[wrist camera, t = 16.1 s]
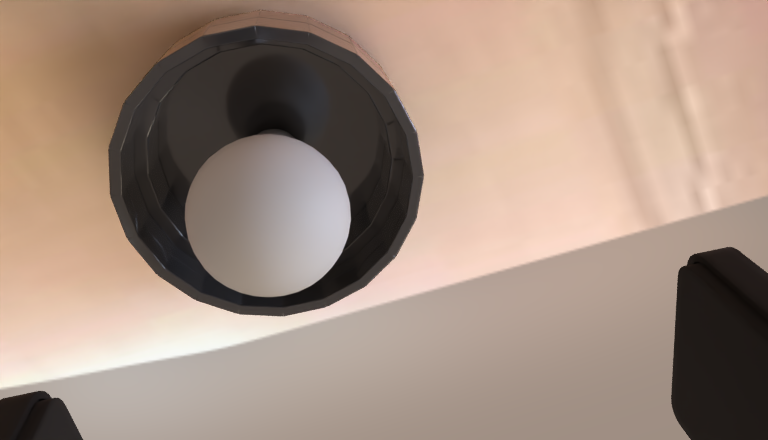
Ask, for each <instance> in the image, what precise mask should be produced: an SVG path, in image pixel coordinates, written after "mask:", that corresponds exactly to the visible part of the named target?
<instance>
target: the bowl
mask: <svg viewBox="0 0 768 440" xmlns="http://www.w3.org/2000/svg"><path fill="white" fill-rule="evenodd" d="M268 129H280V130H283V131H286V132H288V133H289V134H291V135H292V136H293V137H294V138H295V139H297V140H300V141H302V142H304V143H306V144H307V145H309V146H311V147H313V148H314V149H316V150H317V151H318V152H319V153H320V154H322V155H323V156H324V157H325V158H326V159H327V160H328V161H329V162H330V163H331V164H332V165H333V167H334V168H335V169H336V170H337V171H338V173H339V175H340V177H341V179H342V181H343V182H344V184H345V187H346V191H347V194H348V198H349V202H350V212H351V222H350V228H349V234H348V238H347V241H346V243H345V246H344V248H343V251H342V253H341V255H340V256H339V258H338V259H337V261H336V262H335V264H334V265H333V267H332V268H331V269H330V270H329V271H328V272H327V273H326V274H325V275H324V276H323V277H322V278H321V279H320V280H318V281H317V282H315V283H314V284H313V285H311V286H309V287H307V288H305V289H303V290H301V291H299V292H296V293H292V294H288V295H285V296H276V297H260V296H252V295H248V294H244V293H240V292H238V291H235V290H233V289H231V288H228V287H226V286H225V285H223V284H222V283H220V282H219V281H217V280H216V279H215V278H213V277H212V276H211V275H210V274H209V273H208V272H207V271H206V270H205V269H204V267H203V266H202V264H201V263H200V261H199V260H198V258H197V257H196V255H195V254H194V252H193V249H192V247H191V244H190V242H189V240H188V235H187V229H186V224H185V203H186V200H187V196H188V192H189V189H190V186H191V184H192V182H193V180H194V178H195V176H196V174H197V172H198V170H199V169H200V168H201V167H202V165H203V164H204V163H205V162H206V161H207V160H208V158H209V157H211V156H212V155H213V154H215V153H216V152H217V151H219V150H220V149H221V148H223V147H224V146H226V145H228V144H230V143H232V142H234V141H236V140H238V139H241V138H245V137H249V136H253V135H257V134H258V133H260V132H262V131H264V130H268ZM108 151H109V181H110V195H111V199H112V202H113V204H114V207H115V209H116V212H117V214H118V217H119V219H120V222H121V224H122V227H123V230H124V232H125V235H126V237H127V238H128V240H129V242H130V243H131V244H132V245H133V247H134V248H135V249H136V250H137V251H138V253H139V254H140V255H141V256H142V257H143V259H144V260H145V261H146V262H147V263H148V265H149V266H150V267H151V268H152V269H153V271H154V272H155V273H156V274H157V275H158V276H160V277H161V278H163V279H164V280H166V281H167V282H169V283H170V284H172V285H173V286H175V287H176V288H178V289H179V290H181V291H182V292H184V293H185V294H187V295H188V296H190V297H191V298H193V299H194V300H195V299H196V300H197V301H199V302H203V303H206V304H209V305H212V306H215V307H218V308H221V309H224V310H227V311H230V312H234V313H237V314H244V315H265V316H288V315H292V314H297V313H301V312H306V311H310V310H315V309H320V308H324V307H326V306H330V305H331V304H333V303H335V302H337V301H339V300H341V299H343V298H345V297H347V296H348V295H350V294H352V293H354V292H356V291H358V290H360V289H362V288H364V287H365V286H366V285H367V284H368V283H369V282H370V281H372V280H373V279H374V278H375V277H376V276H377V275H378V274H379V273H380V272H381V271H382V270H383V269H384V268H385V267H386V266H387V265H388V264H389V263H390V262H391V261H392V260H393V259H394V258H395V256H397V254H398V252H399V250H400V248H401V247H402V245H403V243H404V241H405V239H406V237H407V235H408V234H409V232H410V230H411V228H412V226H413V224H414V222H415V221H416V218H417V213H418V207H419V201H420V196H421V190H422V184H423V179H424V173H423V167H422V160H421V154H420V147H419V141H418V135H417V131H416V129H415V127H414V125H413V123H412V121H411V119H410V117H409V115H408V114H407V112H406V110H405V108H404V106H403V104H402V102H401V100H400V98H399V97H398V95H397V93H396V91H395V89H394V88H393V86H392V84H391V83H390V81H389V79H388V78H387V76H386V74H385V73H384V71H383V69H382V68H381V66H380V65H379V64H378V63H377V62H376V61H375V60H374V59H373V58H372V57H371V56H370V55H369V54H368V53H366V52H365V51H364V50H363V49H362V48H361V47H360V46H359V45H358V44H357V43H356V42H355V41H354V40H353V39H352V38H351V37H350V36H348V35H346V34H344V33H342V32H340V31H338V30H336V29H334V28H332V27H330V26H327V25H325V24H323V23H321V22H319V21H317V20H315V19H313V18H311V17H307V16H305V15H297V14H289V13H282V12H274V11H266V10H258V11H253V12H247V13H242V14H237V15H232V16H227V17H222V18H217V19H215V20H213V21H211V22H209V23H207V24H206V25H204V26H202V27H201V28H199V29H197V30H196V31H194V32H192V33H190V34H189V35H187V36H185V37H184V38H182V39H180V40H179V41H177V42H176V43H175V44H174V45H173V46H172V47H171V48H170V49H169V50H168V51H167V52H166V53H165V54H164V55H163V56H162V57H161V58H160V59H159V60H158V61H157V62H156V64H155V65H154V66H153V67H152V68H151V70H150V71H149V72H148V73H147V74H146V76H145V77H144V78H143V79H142V81H141V82H140V83H139V84H138V85H137V87H136V88H135V89H134V90H133V91H132V93H131V94H130V95H129V96H128V98H127V99H126V100H125V102H124V103H123V106H122V109H121V112H120V115H119V118H118V121H117V124H116V127H115V130H114V133H113V136H112V139H111V142H110V145H109V149H108Z"/></svg>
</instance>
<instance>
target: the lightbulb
mask: <svg viewBox="0 0 768 440" xmlns="http://www.w3.org/2000/svg"><path fill="white" fill-rule="evenodd" d="M350 222H351V212H350V202H349V198H348V194H347V191H346V187H345V184H344V182H343V181H342V179H341V177H340V175H339V173H338V171H337V170H336V169H335V168H334V167H333V165H332V164H331V163H330V162H329V161H328V160H327V159H326V158H325V157H324V156H323V155H322V154H320V153H319V152H318V151H317V150H316V149H314V148H313V147H311V146H309V145H307V144H306V143H304V142H302V141H300V140H297V139H295V138H294V137H293V136H292V135H291V134H289V133H288V132H286V131H283V130H280V129H268V130H264V131H262V132H260V133H258V134H257V135H253V136H249V137H245V138H241V139H238V140H236V141H234V142H232V143H230V144H228V145H226V146H224V147H223V148H221V149H220V150H219V151H217V152H216V153H215V154H213V155H212V156H211V157H209V158H208V160H207V161H206V162H205V163H204V164H203V165H202V167H201V168H200V169H199V170H198V172H197V174H196V176H195V178H194V180H193V182H192V184H191V186H190V189H189V192H188V196H187V200H186V203H185V224H186V229H187V235H188V240H189V242H190V244H191V247H192V249H193V252H194V254H195V255H196V257H197V258H198V260H199V261H200V263H201V264H202V266H203V267H204V269H205V270H206V271H207V272H208V273H209V274H210V275H211V276H212V277H213V278H215V279H216V280H217V281H219V282H220V283H222V284H223V285H225V286H226V287H228V288H231V289H233V290H235V291H238V292H240V293H244V294H248V295H252V296H260V297H276V296H285V295H288V294H292V293H296V292H299V291H301V290H303V289H305V288H307V287H309V286H311V285H313V284H314V283H315V282H317V281H318V280H320V279H321V278H322V277H323V276H324V275H325V274H326V273H327V272H328V271H329V270H330V269H331V268H332V267H333V265H334V264H335V262H336V261H337V259H338V258H339V256H340V255H341V253H342V251H343V248H344V246H345V243H346V241H347V238H348V234H349V228H350Z"/></svg>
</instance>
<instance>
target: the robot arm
mask: <svg viewBox="0 0 768 440" xmlns="http://www.w3.org/2000/svg"><path fill="white" fill-rule="evenodd" d="M677 285H678V286H677V302H676V321H675V341H674V358H673V377H672V395H671V399H672V408H673V411H674V414H675V416H676V419H677V421H678V422H679V424H680V425H681V427H682V428H683V430H684V431H685V432H686V434H687V435H688V436H689V438H690V439H691V440H768V273H767V272H765V271H764V270H763V269H762V268H760V267H759V266H758V265H756V264H755V263H754V262H752V261H751V260H750V259H749V258H747V257H746V256H745V255H743V254H742V253H741V252H740V251H739V250H737V249H735V248H732V247H726V248H722V249H717V250H712V251H707V252H702V253H697V254H694V255H692V256H690V258H689V260H688V264H687V266H683V267H681V268H680V270H679V273H678V284H677ZM0 440H83V439H82V437H81V435H80V433H79V431H78V429H77V427H76V425H75V423H74V421H73V419H72V417H71V415H70V413H69V411H68V409H67V408H66V406H65V404H64V403H63V401H62V400H61V399H59V398H51V397H50V395H49V394H47V393H46V392H45V391H38V392H32V393H27V394H23V395H18V396H13V397H8V398H3V399H1V400H0Z"/></svg>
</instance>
